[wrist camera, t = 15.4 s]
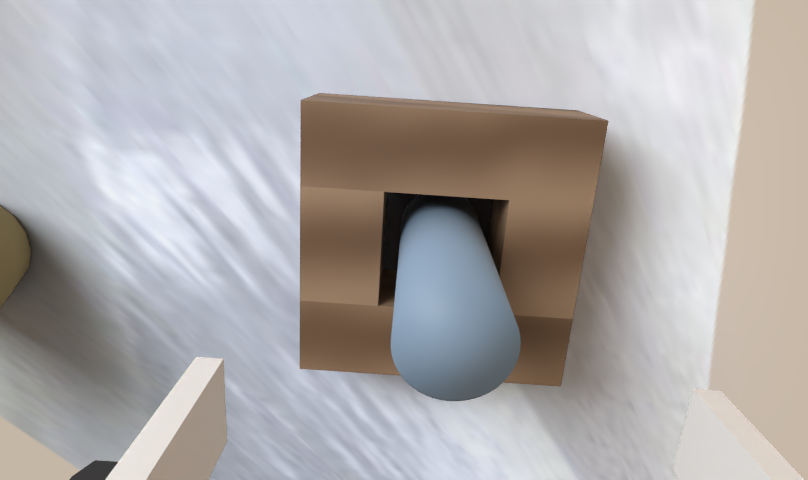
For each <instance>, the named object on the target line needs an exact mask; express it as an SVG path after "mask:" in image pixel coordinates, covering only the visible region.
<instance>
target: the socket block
mask: <svg viewBox="0 0 808 480" xmlns="http://www.w3.org/2000/svg"><path fill="white" fill-rule="evenodd" d="M607 125H608V121H607V120H604V119H601V118H598V117H595V116H592V115H589V114H586V113H583V112H580V111H576V110H562V109H547V108H532V107H517V106H502V105H487V104H472V103H457V102H443V101H428V100H413V99H398V98H383V97H368V96H353V95H338V94H324V93H319V94H316V95H313V96H311V97H308V98H305V99H303V100H301V184H300V369H313V370H328V371H342V372H357V373H372V374H387V375H400V373H399V372H398V370H397V368H396V366H395V364H394V361H393V358H392V353H391V333H392V322H393V311H394V301H395V290H396V279H397V271H393V270H384V254H385V236H386V218H387V200H388V192H394V193H409V194H424V195H439V196H453V197H468V198H483V199H493V201H492V210H491V218H490V227H489V235H488V243H487V245H488V248H489V250H490V253H491V256H492V258H493V261H494V264H495V266H496V269H497V272H498V274H499V277H500V280H501V282H502V285H503V288H504V290H505V293H506V296H507V298H508V301H509V304H510V306H511V309H512V312H513V314H514V317H515V320H516V322H517V325H518V328H519V332H520V340H521V345H520V353H519V357H518V360H517V363H516V365H515V367H514V369H513V371H512V372H511V373H510V375H509V376H508V378H507V379H506V380H505V381H504V382H505V383H520V384H534V385H549V386H561V382H562V376H563V371H564V365H565V359H566V354H567V348H568V343H569V337H570V332H571V326H572V320H573V315H574V309H575V304H576V298H577V293H578V287H579V281H580V276H581V270H582V265H583V259H584V254H585V248H586V242H587V237H588V231H589V226H590V220H591V215H592V209H593V203H594V198H595V192H596V187H597V181H598V176H599V170H600V164H601V159H602V153H603V148H604V142H605V137H606V131H607Z"/></svg>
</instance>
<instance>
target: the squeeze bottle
mask: <svg viewBox="0 0 808 480" xmlns="http://www.w3.org/2000/svg"><path fill="white" fill-rule="evenodd" d="M30 256H31V248H30V245H29V242H28V238H27V235H26V232H25V231H24V229H23V228H22V226H21V225H20V224H19V222H18V221H17V220H16V218H15V217H14V216H13V215H12V214H11V213H9V212H8V211H7V210H5V209H4V208H2V207H1V206H0V308H1V307H2V305H3V304H4V302H5V301H6V300H7V298H8V297H9V295H10V294H11V292H12V291H13V290H14V288H15V287H16V285H17V284H18V283H19V281H20V280H21V278H22V277H23V275H24V274H25V273H26V271H27V270H28V268H29V263H30Z"/></svg>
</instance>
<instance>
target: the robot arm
mask: <svg viewBox="0 0 808 480" xmlns="http://www.w3.org/2000/svg"><path fill="white" fill-rule="evenodd" d="M226 443H227V430H226V406H225V383H224V359H220V358H205V357H196V358H195V359H194V360H193V362H192V363H191V364H190V366H189V367H188V368H187V370H186V371H185V372H184V374H183V375H182V376H181V378H180V379H179V381H178V382H177V383H176V385H175V386H174V387H173V389H172V390H171V391H170V393H169V394H168V395H167V397H166V398H165V399H164V401H163V402H162V404H161V405H160V406H159V408H158V409H157V410H156V412H155V413H154V414H153V416H152V417H151V418H150V420H149V421H148V422H147V424H146V425H145V427H144V428H143V429H142V431H141V432H140V433H139V435H138V436H137V437H136V439H135V440H134V441H133V443H132V444H131V446H130V447H129V448H128V450H127V451H126V452H125V454H124V455H123V456H122V458H121V459H120V460H119V462H111V461H96V460H95V461H94V462H92V463H91V464H89V465H88V466H86V467H85V468H84V469H82V470H81V471H79V472H78V473H76V474H75V475H74V476H72V477H71V479H70V480H208V479H209V477H210V475H211V473H212V471H213V469H214V467H215V465H216V463H217V461H218V459H219V457H220V455H221V453H222V451H223V449H224V447H225V445H226ZM672 471H673V472H674V474H675V475H676V477H677V479H678V480H804V479H803V478H802V477H801V476H800V475H799V474H798V473H797V472H796V470H795V469H793V467H792V466H791V465H790V464H789V463H788V462H787V461H786V460H785V459H784V458H783V457H782V456H781V455H780V454H779V453H778V451H777V450H776V449H775V448H774V447H773V446H772V445H771V444H770V443H769V442H768V441H767V440H766V439H765V438H764V436H763V435H762V434H761V433H760V432H759V431H758V430H757V429H756V428H755V427H754V426H753V425H752V424H751V423H750V422H749V421H748V419H746V417H745V416H744V415H743V414H742V413H741V412H740V411H739V410H738V409H737V408H736V407H735V406H734V405H733V404H732V403H731V401H730V400H729V399H728V398H727V397H726V396H725V395H724V394H723V393H722V392H721V391H719V390H704V389H693V391H692V395H691V399H690V402H689V406H688V410H687V414H686V418H685V422H684V426H683V429H682V433H681V437H680V441H679V445H678V449H677V452H676V456H675V460H674V464H673V468H672Z"/></svg>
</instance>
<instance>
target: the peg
mask: <svg viewBox="0 0 808 480" xmlns="http://www.w3.org/2000/svg"><path fill="white" fill-rule="evenodd" d="M520 345H521V340H520V332H519V328H518V325H517V322H516V320H515V317H514V314H513V312H512V309H511V306H510V304H509V301H508V298H507V296H506V293H505V290H504V288H503V285H502V282H501V280H500V277H499V274H498V272H497V269H496V266H495V264H494V261H493V258H492V256H491V253H490V250H489V248H488V245H487V242H486V240H485V237H484V234H483V232H482V229H481V226H480V224H479V221H478V218H477V216H476V213H475V211H474V208H473V207H472V205H471V204H470V202H469V201H468V200H467V199H466V198H465V197H453V196H439V195H424V194H419V195H417V196H416V197H415V198H414V199H413V200H412V201H411V202H410V203H409V204H408V206H407V207H406V209H405V211H404V214H403V217H402V224H401V235H400V246H399V257H398V268H397V279H396V290H395V301H394V311H393V322H392V333H391V353H392V358H393V361H394V364H395V366H396V368H397V370H398V372H399V373H400V375H401V376H402V377H403V379H404V380H405V381H406V382H407V383H408V384H409V385H410V386H412V387H413V388H414V389H416V390H417V391H419V392H421V393H423V394H425V395H427V396H429V397H432V398H435V399H440V400H446V401H464V400H470V399H474V398H477V397H480V396H483V395H485V394H487V393H489V392H491V391H492V390H494V389H495V388H497V387H498V386H499V385H500V384H502V383H503V382H504V381H505V380H506V379H507V378H508V376H509V375H510V373H511V372H512V371H513V369H514V367H515V365H516V363H517V360H518V357H519V353H520Z"/></svg>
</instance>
